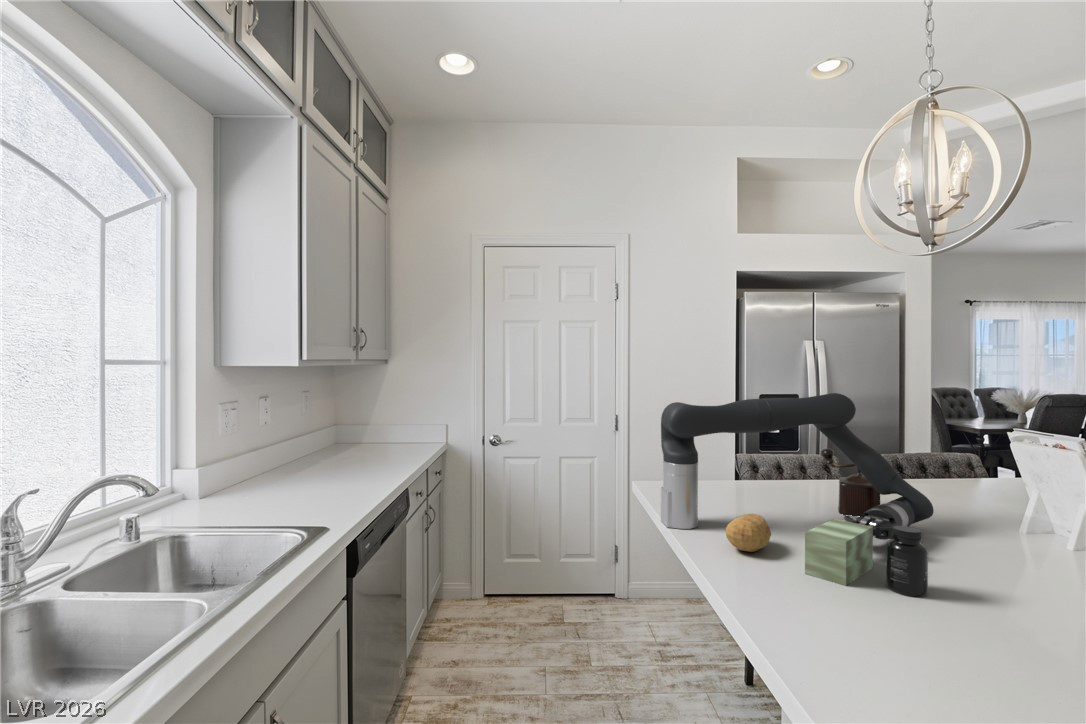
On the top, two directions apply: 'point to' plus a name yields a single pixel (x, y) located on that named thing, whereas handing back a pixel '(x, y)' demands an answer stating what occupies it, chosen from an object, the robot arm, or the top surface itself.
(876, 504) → the wooden coffee grinder
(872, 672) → the top surface
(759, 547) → the potato
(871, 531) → the sage-green block
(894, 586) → the supplement bottle
